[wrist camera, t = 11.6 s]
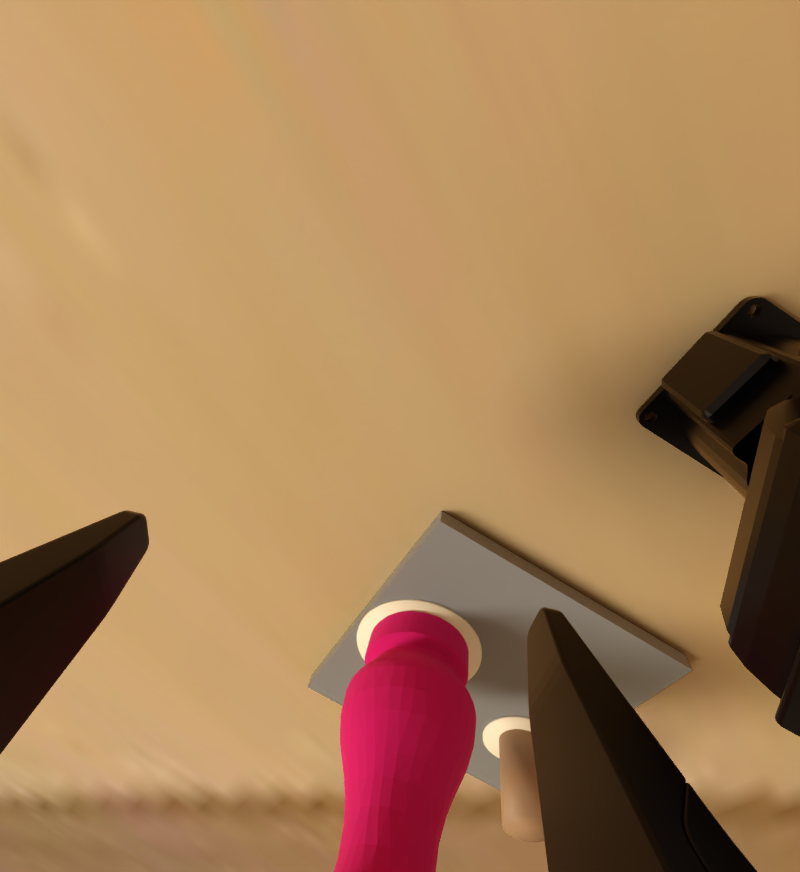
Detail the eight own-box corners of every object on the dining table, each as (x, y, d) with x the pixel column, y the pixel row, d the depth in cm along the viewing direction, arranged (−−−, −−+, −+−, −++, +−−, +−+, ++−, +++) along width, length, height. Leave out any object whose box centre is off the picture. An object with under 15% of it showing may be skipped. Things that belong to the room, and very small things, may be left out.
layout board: (685, 655, 25) (740, 766, 20) (503, 777, 33) (507, 881, 28) (441, 510, 24) (430, 588, 19) (312, 674, 32) (278, 762, 27)
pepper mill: (499, 639, 26) (544, 1563, 8) (441, 700, 29) (378, 1456, 11) (393, 584, 25) (181, 1420, 7) (346, 653, 29) (119, 1353, 11)
